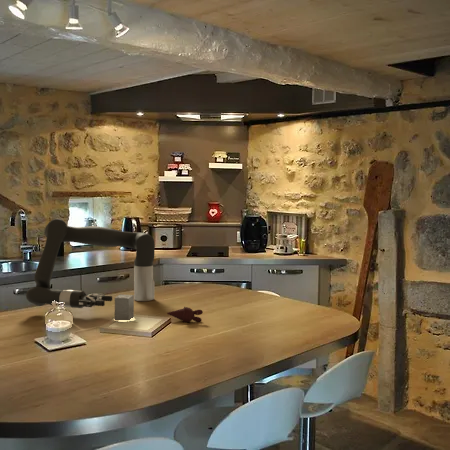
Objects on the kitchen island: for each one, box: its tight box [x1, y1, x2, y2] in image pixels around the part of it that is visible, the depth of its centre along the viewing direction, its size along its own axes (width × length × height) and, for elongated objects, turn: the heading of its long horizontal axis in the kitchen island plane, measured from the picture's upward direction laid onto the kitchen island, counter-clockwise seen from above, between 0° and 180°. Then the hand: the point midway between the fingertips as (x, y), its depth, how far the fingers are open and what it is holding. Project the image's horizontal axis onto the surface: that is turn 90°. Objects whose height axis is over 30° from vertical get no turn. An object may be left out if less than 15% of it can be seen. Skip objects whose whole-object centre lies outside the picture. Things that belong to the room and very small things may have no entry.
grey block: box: [114, 293, 135, 320], centre depth 221 cm, size 6×6×10 cm
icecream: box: [166, 306, 204, 323], centre depth 221 cm, size 7×7×15 cm
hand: (108, 301), depth 222 cm, fingers open, 8 cm apart
